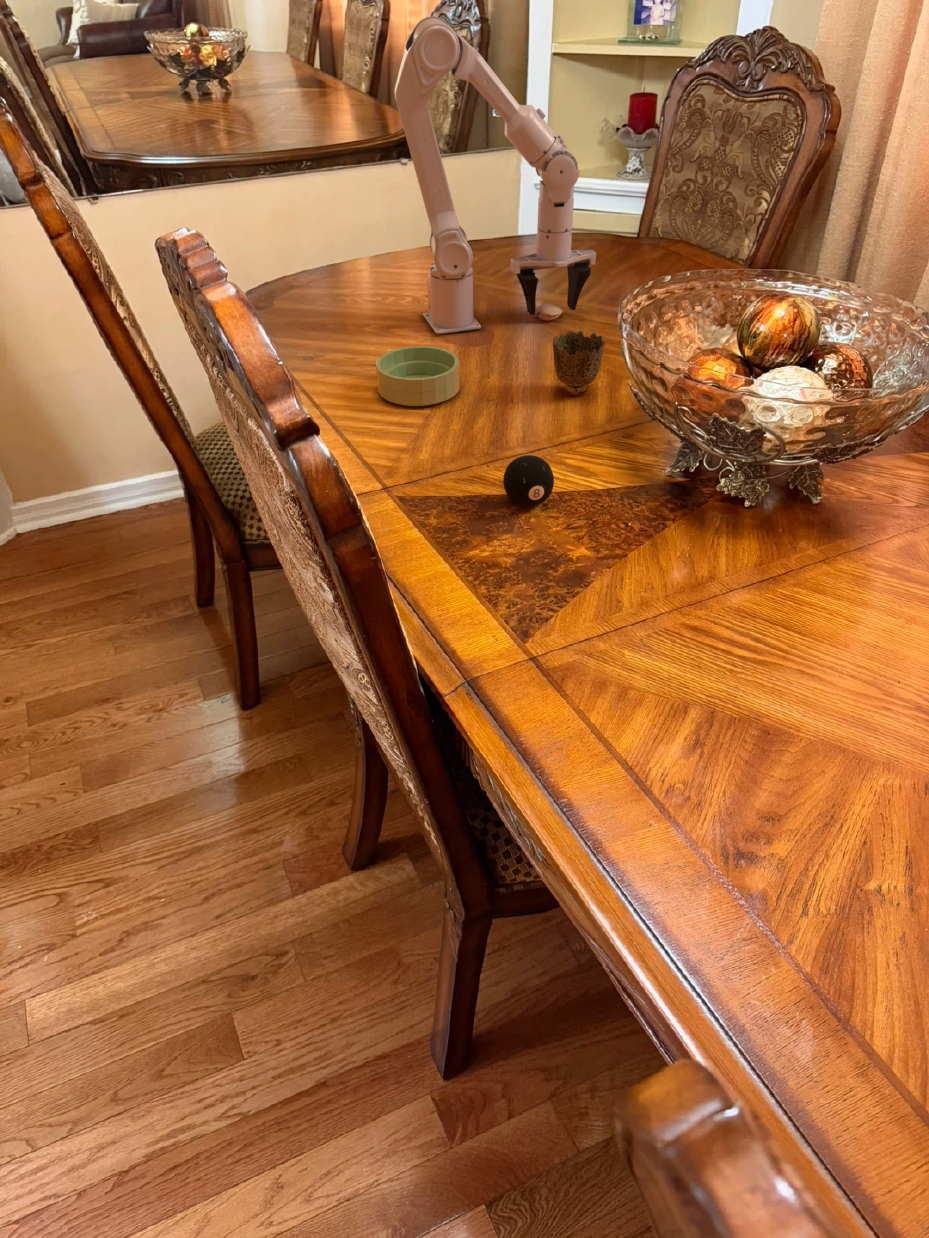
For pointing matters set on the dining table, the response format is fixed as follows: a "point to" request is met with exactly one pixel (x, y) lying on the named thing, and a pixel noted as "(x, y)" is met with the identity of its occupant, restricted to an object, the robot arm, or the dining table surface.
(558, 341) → the cup
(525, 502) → the billiard ball
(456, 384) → the bowl
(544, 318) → the seashell
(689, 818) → the dining table surface
